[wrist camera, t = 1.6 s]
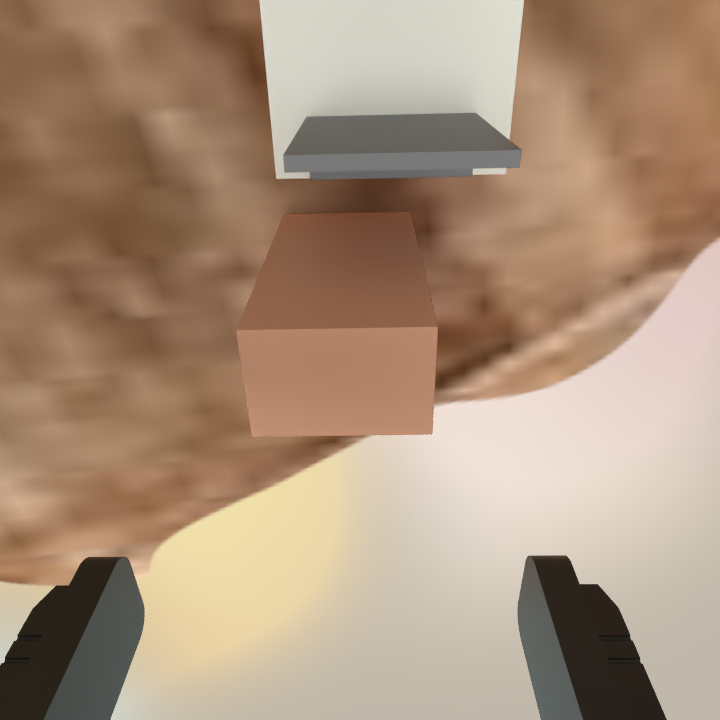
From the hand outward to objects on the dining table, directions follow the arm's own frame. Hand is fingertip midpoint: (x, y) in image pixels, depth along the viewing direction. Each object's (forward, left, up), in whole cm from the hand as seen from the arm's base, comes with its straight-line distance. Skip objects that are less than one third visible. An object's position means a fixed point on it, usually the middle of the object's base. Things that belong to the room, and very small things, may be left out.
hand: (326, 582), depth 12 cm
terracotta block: (0, 0, -19) cm, 19 cm away
